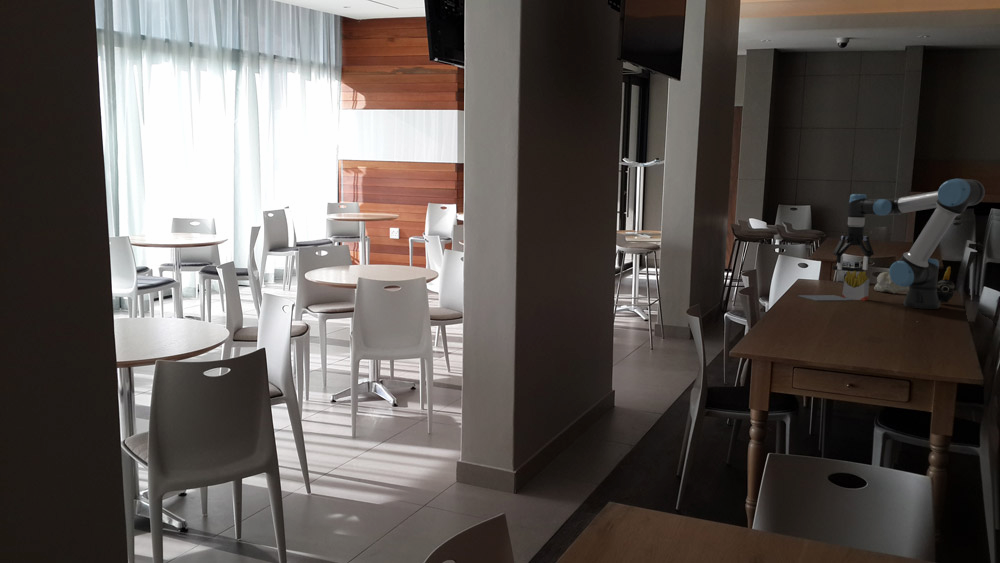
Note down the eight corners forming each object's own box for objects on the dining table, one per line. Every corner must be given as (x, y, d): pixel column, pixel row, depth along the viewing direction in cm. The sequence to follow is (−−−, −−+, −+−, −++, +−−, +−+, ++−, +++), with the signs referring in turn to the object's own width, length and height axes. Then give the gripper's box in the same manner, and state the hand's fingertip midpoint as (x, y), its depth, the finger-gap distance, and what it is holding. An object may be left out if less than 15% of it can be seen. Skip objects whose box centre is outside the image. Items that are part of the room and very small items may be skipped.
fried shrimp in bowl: (948, 301, 404) (952, 264, 402) (959, 304, 393) (962, 266, 391) (929, 300, 405) (932, 263, 402) (938, 304, 394) (942, 266, 392)
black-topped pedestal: (810, 283, 465) (812, 259, 464) (837, 280, 481) (838, 257, 479) (858, 289, 443) (860, 264, 441) (884, 286, 459) (886, 262, 457)
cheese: (865, 282, 431) (890, 266, 423) (868, 280, 437) (894, 264, 429) (883, 307, 428) (910, 291, 419) (887, 305, 434) (913, 289, 425)
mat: (853, 300, 399) (853, 299, 399) (816, 301, 395) (816, 300, 395) (834, 295, 414) (834, 295, 414) (798, 296, 411) (798, 295, 411)
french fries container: (863, 310, 400) (865, 272, 398) (840, 307, 408) (843, 270, 406) (867, 309, 404) (870, 272, 401) (845, 306, 411) (847, 270, 409)
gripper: (874, 225, 410) (870, 268, 413) (827, 225, 405) (824, 268, 408) (883, 227, 403) (880, 270, 405) (836, 226, 398) (833, 270, 401)
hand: (852, 269), depth 407 cm, fingers open, 13 cm apart
